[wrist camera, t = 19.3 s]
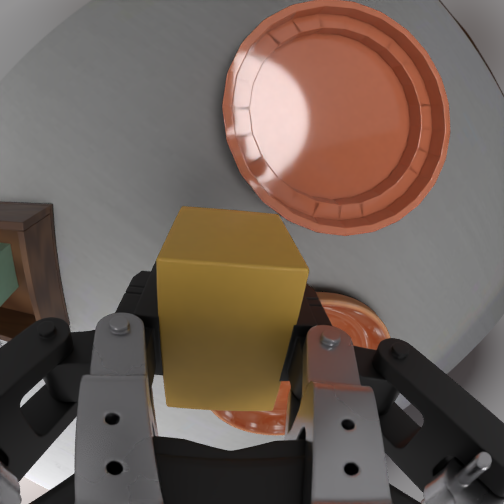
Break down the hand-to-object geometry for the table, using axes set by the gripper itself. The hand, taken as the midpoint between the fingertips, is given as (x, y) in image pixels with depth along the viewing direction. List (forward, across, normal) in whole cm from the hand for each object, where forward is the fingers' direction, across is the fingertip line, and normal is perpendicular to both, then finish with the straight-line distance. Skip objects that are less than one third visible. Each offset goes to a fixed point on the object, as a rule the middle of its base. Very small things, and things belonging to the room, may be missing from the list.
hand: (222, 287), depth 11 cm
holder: (+16, +23, +9) cm, 30 cm away
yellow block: (+1, 0, 0) cm, 1 cm away
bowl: (+16, -9, -8) cm, 20 cm away
